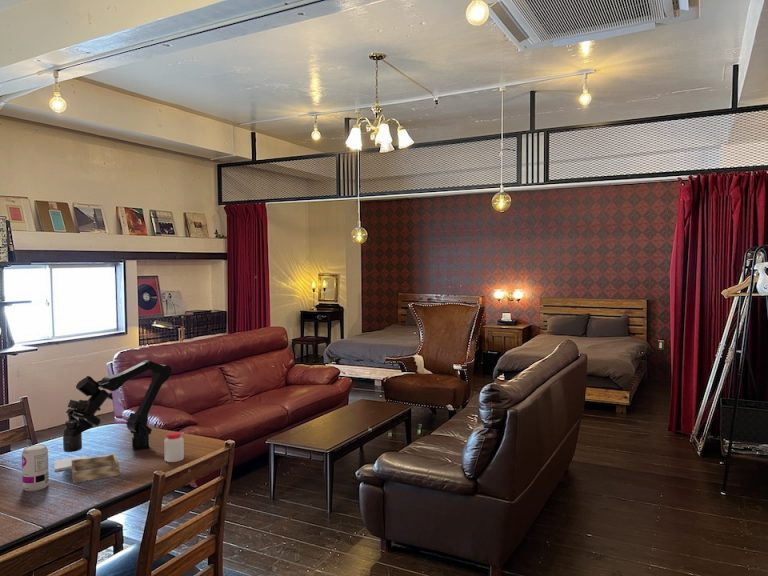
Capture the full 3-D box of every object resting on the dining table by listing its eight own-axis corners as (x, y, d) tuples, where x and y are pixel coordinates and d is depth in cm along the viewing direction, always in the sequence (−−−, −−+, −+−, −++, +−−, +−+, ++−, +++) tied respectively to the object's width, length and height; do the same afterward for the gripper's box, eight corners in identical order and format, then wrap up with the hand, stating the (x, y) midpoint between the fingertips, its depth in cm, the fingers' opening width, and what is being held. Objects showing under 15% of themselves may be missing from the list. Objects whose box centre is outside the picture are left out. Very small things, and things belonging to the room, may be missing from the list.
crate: (115, 463, 236) (115, 453, 236) (119, 475, 222) (119, 465, 222) (71, 470, 228) (71, 460, 228) (73, 483, 214) (72, 472, 214)
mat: (86, 458, 243) (86, 455, 243) (88, 466, 233) (88, 463, 233) (54, 462, 237) (54, 460, 237) (54, 471, 227) (54, 469, 227)
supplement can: (21, 493, 205) (20, 452, 204) (24, 485, 212) (23, 446, 211) (47, 489, 208) (46, 448, 208) (49, 482, 216) (48, 442, 215)
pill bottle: (187, 457, 244) (187, 431, 243) (175, 463, 236) (175, 436, 236) (172, 455, 246) (172, 430, 246) (160, 461, 239) (160, 435, 239)
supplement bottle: (85, 449, 234) (84, 420, 234) (68, 453, 229) (67, 424, 228) (76, 446, 238) (75, 418, 238) (60, 450, 233) (59, 421, 232)
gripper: (69, 389, 241) (43, 420, 233) (91, 394, 230) (64, 427, 222) (89, 403, 248) (63, 434, 240) (111, 409, 237) (85, 442, 229)
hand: (68, 434), depth 232 cm, fingers closed on supplement bottle, 7 cm apart
